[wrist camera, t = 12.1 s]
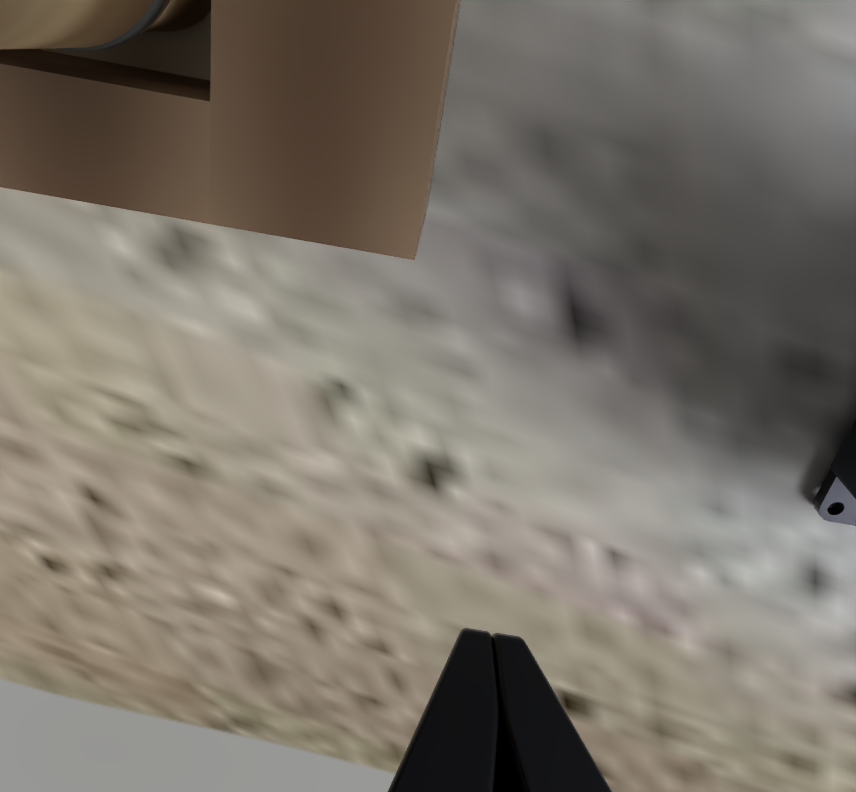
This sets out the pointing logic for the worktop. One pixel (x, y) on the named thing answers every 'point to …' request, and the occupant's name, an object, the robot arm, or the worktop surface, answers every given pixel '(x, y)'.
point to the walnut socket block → (245, 119)
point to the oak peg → (91, 21)
